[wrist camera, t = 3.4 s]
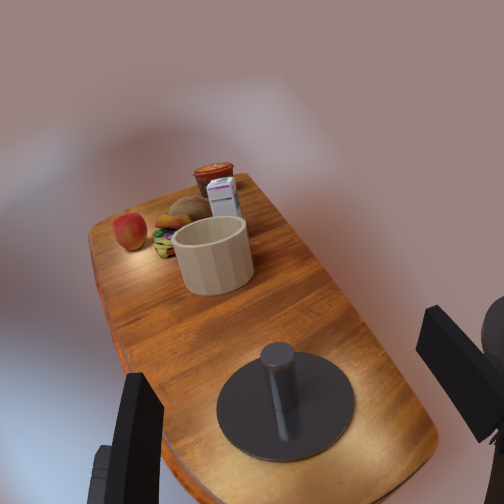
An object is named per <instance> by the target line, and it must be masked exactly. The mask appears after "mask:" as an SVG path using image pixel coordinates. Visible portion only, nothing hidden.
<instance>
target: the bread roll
mask: <svg viewBox="0 0 504 504" xmlns="http://www.w3.org/2000/svg"><path fill="white" fill-rule="evenodd" d="M168 214H171V215H172V216H176V215H187V216H188V217H190V219H191V221H192V222H194V221H197V220H201V219H205V218H208V217H211V216H212V215H213V214H212V210H211V206H210V201H209V200H208V199H206V198H204V197H202V196H198V195H193V196H187V197H183V198H181V199H179V200H177V201H176V202H175V203H174V204H173V205H172V206H171V207H170V210H169V213H168Z"/></svg>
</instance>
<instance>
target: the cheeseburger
mask: <svg viewBox="0 0 504 504" xmlns="http://www.w3.org/2000/svg"><path fill="white" fill-rule="evenodd" d="M190 223H192V221H191V219H190V217H188V216H187V215H176V216H172V215H171V214H165V215H161V216H160V217H159V218H158V219H157V221H156V224H155V227H158V228H164V229H161V230H158V231H155V232H156V233H153V236H155V237H154V241H155V242H154V247H155V250H156V252H157V253H158V254H159V256H161V257H162V258H167V257H168V256H170V255H173V254H175V252H174V249H173V245H172V242H171V238H172V236H173V234H174V233H175V232H176V231H178V230H179V229H180V228H182V227H184V226H186V225H188V224H190ZM175 227H176V228H175ZM169 228H171V229H169Z"/></svg>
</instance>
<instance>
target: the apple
mask: <svg viewBox="0 0 504 504" xmlns="http://www.w3.org/2000/svg"><path fill="white" fill-rule="evenodd" d="M113 233H114V236H115V239H116V240H117V242H118V243H119V244H120V245H121V246H122V247H124V248H125V249H128V250H137V249H139V248H140V247H141V246H142V245H143V243H144V242H145V240H146V237H147V226H146V223H145V221H144V219H143V218H142V217H141V216H140V215H139V214H137V213H132V214H127V215H126V214H125V215H123V216H121V217H119V218H117V219H116V220H114V222H113Z"/></svg>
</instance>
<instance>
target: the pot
mask: <svg viewBox="0 0 504 504" xmlns="http://www.w3.org/2000/svg"><path fill="white" fill-rule="evenodd" d="M171 242H172V245H173V249H174V252H175V255H176V259H177V262H178V265H179V268H180V272H181V275H182V278H183V281H184V284H185V287H186V288H187V289H188V291H190V292H192V293H194V294H197V295H202V296H214V295H221V294H225V293H228V292H231V291H234V290H236V289H238V288H240V287H242V286H243V285H245V284H246V283H247V282H248V281H249V280H250V279H251V278H252V276H253V274H254V263H253V257H252V252H251V246H250V241H249V235H248V230H247V224H246V221H245V220H243V219H242V218H240V217H235V216H217V217H210V218H205V219H202V220H199V221H195V222H192V223H190V224H188V225H186V226H184V227H182V228H180V229H179V230H178V231H176V232H175V233H174V234H173V236H172V238H171Z"/></svg>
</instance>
